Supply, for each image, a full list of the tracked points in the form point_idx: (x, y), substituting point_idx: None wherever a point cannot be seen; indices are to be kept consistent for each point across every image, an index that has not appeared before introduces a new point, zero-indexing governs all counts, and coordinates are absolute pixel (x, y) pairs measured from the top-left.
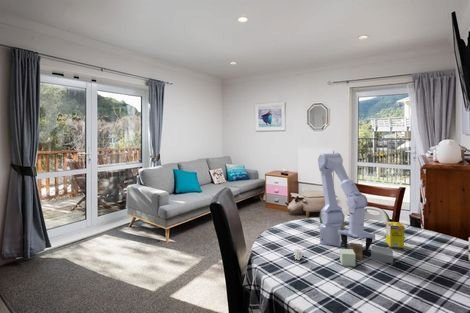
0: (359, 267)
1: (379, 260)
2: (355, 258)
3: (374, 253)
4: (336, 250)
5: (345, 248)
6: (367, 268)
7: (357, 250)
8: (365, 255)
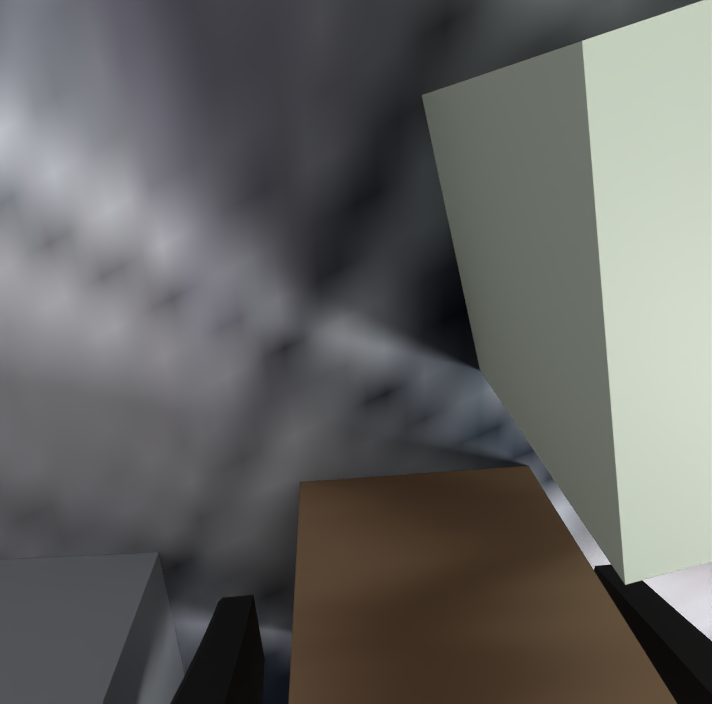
0: (317, 68)
1: (2, 572)
2: (422, 477)
3: (27, 697)
4: (708, 616)
5: (701, 640)
6: (126, 104)
7: (422, 645)
8: (241, 597)
